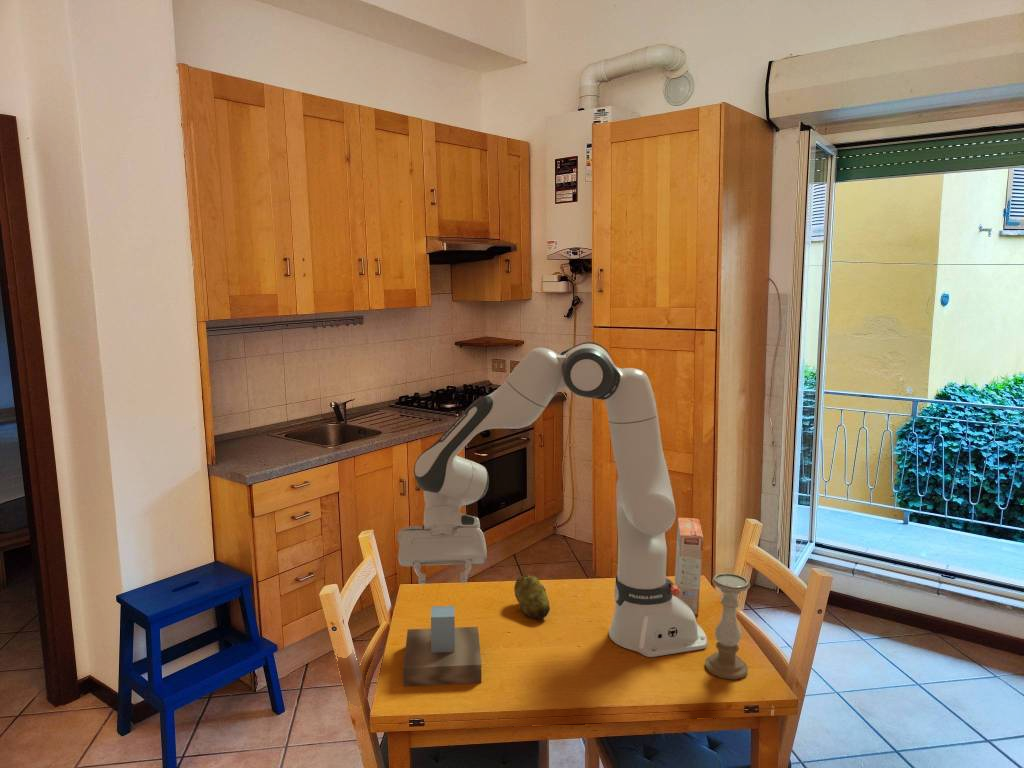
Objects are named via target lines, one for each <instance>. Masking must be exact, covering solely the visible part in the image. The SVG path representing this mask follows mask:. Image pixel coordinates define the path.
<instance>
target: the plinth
mask: <svg viewBox="0 0 1024 768" xmlns="http://www.w3.org/2000/svg"><path fill="white" fill-rule="evenodd" d="M479 634H480V632H479V626H466V627H465V626H463V627H462V626H460V627H459V626H458V627H455V652H436V653H431V628H411V629H410V628H409V629H407V633H406V641H405V642H406V643H405V649H404V651H405V652H404V658H403V659H404V661H403V668H402V670H403V687H412V686H413V687H414V686H436V685H437V686H438V685H458V684H462V685H463V684H481V683H482V655H481V646H480V635H479Z"/></svg>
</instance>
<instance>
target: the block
mask: <svg viewBox="0 0 1024 768" xmlns="http://www.w3.org/2000/svg"><path fill="white" fill-rule="evenodd" d="M455 614H456V613H455V605H441V606H439V605H438V606H437V605H435V606H431V609H430V629H431V653H436V652H455V628H456V625H455V619H456V618H455Z"/></svg>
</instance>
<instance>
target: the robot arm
mask: <svg viewBox="0 0 1024 768" xmlns="http://www.w3.org/2000/svg"><path fill="white" fill-rule="evenodd" d="M565 388H568V390H569V391H570V392H572V393H573V394H575V395H577V396H580V397H583V398H589V399H597V400H600V401H601V400H602V401H604V404H605V407H606V408H605V409H606V412H607V415H606V416H607V420H608V427H609V434H610V440H611V441H610V442H611V447H612V456H613V458H614V463H615V466H616V471H617V472H616V473H617V477H618V478H617V481H616V486H615V494H616V495H615V497H616V498H615V499H616V503H615V504H616V525H617V527H616V528H617V539H618V541H617V543H618V544H617V546H618V551H617V553H618V554H617V574H616V576H615V584H614V601H615V605H614V612H613V617H612V620H611V624H610V627H609V629H608V636H609V638H610V639H611V641H613V642H614V643H615V645H617V646H620V647H623V648H625V649H627V650H631V651H634V652H638V653H639V654H641V655H643V656H645V657H648V658H656V657H661V656H668V655H672V654H679V653H685V652H692V651H698V650H703V649H706V648H707V647H708V638H707V635H706V632H705V631H704V629H703V628H702V627H701V626H700V625H699V624H698V623H697V620H696V619H697V618H696V615H694V613H693V611H692V610H691V609H690V607H689V606H688V605H687V604H686V603H685V602H683V601H682V600H680V599H679V598H678V597H677V596H679V595H680V593H681V592H680V589H679V588H678V587H677V586H676V585H674V582H673V581H672V580H671V579H669V578H668V577H667V560H668V558H667V557H668V546H667V541H666V532H667V531H668V530H670V529H671V528H672V526H673V525H674V523H675V521H676V517H677V510H676V503H675V500H674V499H675V498H674V494H673V493H674V492H673V487H672V484H671V479H670V473H669V470H668V465H667V462H666V458H665V454H664V450H663V443H662V434H661V429H660V421H659V415H658V414H659V413H658V408H657V403H656V398H655V394H654V391H653V388H652V383H651V382H650V379H649V376H648V375H647V373H645V372H644V371H643V370H641V369H638V368H635V367H624V368H621V367H618V366H616V365H615V363H614V361H613V360H612V357H611V355H610V352H609V351H608V350H607V349H606V347H604V346H602V345H601V344H600V343H596V342H593V341H591V342H590V341H588V342H581V343H579V344H576V345H574V346H573V347H570V348H568V349H566V350H564V351H562V352H561V353H560V354H559V353H557V352H555V351H554V350H552V349H550V348H547V347H536V348H533V349H531V351H530V352H528V353H527V354H526V355H525V356H524V357H523V358H522V359H520V361H519V363H518V364H517V365H516V366H515V367H514V368H513V370H512V371H511V372H510V374H509V375H508V376H507V378H506V379H505V381H503V383H502V384H501V385H500V386H499V387H497V389H495V390H494V391H493V392H491V393H490V394H488V395H485V396H480V397H479V398H477V399H475V400H474V401H473V402H472V403H471V404H470V405H469V406H468V407H467V408H466V409H465V410H464V411H463V412H462V413H461V414H460V415H459V416H458V417H457V419H456V420H455V421H454V422H453V423H452V424H451V425H450V426H449V427H448V429H446V431H445V432H444V433H443V434H442V435H441V436H440V437H439V438H438V439H437V440H436V441H435V442H434V443H432V445H430V446H429V447H428V448H426V449H425V450H424V451H422V453H421V454H420V455H419V456H418V458H417V459H416V461H415V463H414V466H413V474H414V479H415V481H416V483H417V486H418V487H419V488H420V490H422V491H423V499H424V500H423V501H424V503H425V505H424V506H425V507H424V510H423V525H415V526H410V525H407V526H404V528H401V529H400V530H399V531H398V533H397V542H398V544H399V547H398V555H397V558H398V564H399V565H400V566H401V567H413V570H414V572H415V574H416V575H417V577H418V585H422V584H423V585H426V573H422V572H421V566H424V567H425V566H446V565H447V566H449V565H465V570H464V571H463V572H462V571H461V572H460V583H468V575H469V574H470V571H471V569H472V565H475V564H476V565H477V564H484V563H485V562H486V560H487V558H488V557H487V556H488V553H487V544H486V538H485V534H484V533H483V531H482V529H481V524H480V522H481V521H480V519H479V518H478V517H477V516H472V515H468V514H465V513H462V511H461V508H462V506H468V505H469V506H470V505H472V504H474V503H476V502H478V501H480V500H481V499H482V498H483V497H484V496H485V495H486V494H487V492H488V490H489V483H490V479H489V478H490V477H489V472H488V469H487V467H485V466H484V465H482V464H480V463H477V462H475V461H473V460H470V459H468V458H464V457H461V456H459V453H461V451H462V450H463V449H464V448H465V447H466V446H467V445H468V444H469V442H471V440H472V439H473V438H474V437H476V435H477V434H480V433H481V432H484V431H487V430H493V429H510V430H513V429H514V430H516V429H522V428H526V427H528V426H530V425H532V424H533V423H534V422H535V421H536V420H537V419H538V418H539V417H540V416H541V415H542V414H543V412H544V411H545V410H546V408H547V406H548V405H549V403H550V401H552V400H553V398H554V396H555V395H556V394H557V393H558V392H559V391H561V390H563V389H565Z"/></svg>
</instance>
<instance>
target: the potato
mask: <svg viewBox="0 0 1024 768" xmlns="http://www.w3.org/2000/svg"><path fill="white" fill-rule="evenodd" d="M513 590H514V596H515V599H516V601H517V602H518V605H519V609H520V610H521V612H523V614H525V615H526V616H527V617H528V618H532V619H537V620H541V619H544V618H546V617H547V616H548V614H549V612H550V608H551V607H550V601H549V597H548V595H547V591H546V588H545V586H544V585H543V584H542V583H541V582H540V580H539V578H538V577H537V576H536V575H532V574H523V575H521V576H519V577H517V579H516V581H515V582H514V589H513Z"/></svg>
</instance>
